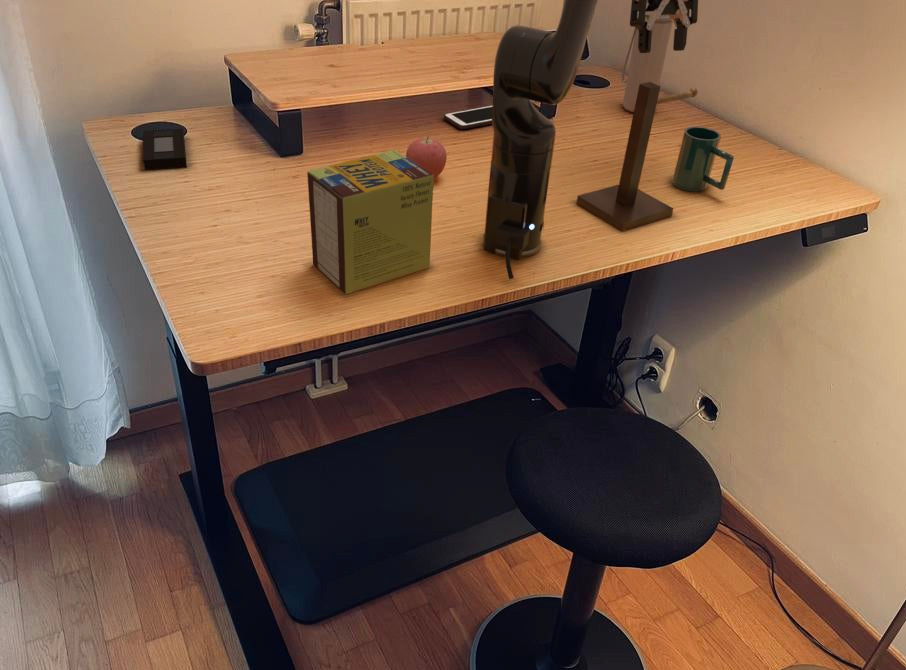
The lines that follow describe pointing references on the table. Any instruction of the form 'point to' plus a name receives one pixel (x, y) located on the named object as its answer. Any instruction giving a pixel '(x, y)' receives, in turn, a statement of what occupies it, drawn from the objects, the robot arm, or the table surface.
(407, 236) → the protein box
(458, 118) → the cell phone
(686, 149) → the mug
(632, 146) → the mug stand
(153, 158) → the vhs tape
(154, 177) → the table surface
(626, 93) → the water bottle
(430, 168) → the apple
